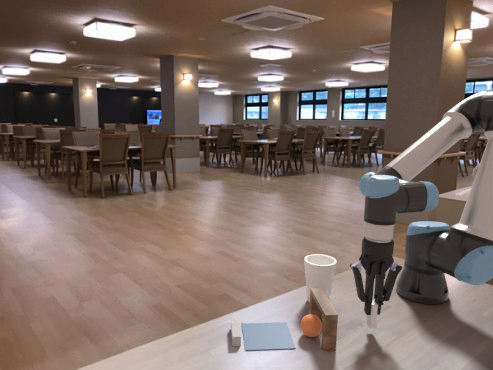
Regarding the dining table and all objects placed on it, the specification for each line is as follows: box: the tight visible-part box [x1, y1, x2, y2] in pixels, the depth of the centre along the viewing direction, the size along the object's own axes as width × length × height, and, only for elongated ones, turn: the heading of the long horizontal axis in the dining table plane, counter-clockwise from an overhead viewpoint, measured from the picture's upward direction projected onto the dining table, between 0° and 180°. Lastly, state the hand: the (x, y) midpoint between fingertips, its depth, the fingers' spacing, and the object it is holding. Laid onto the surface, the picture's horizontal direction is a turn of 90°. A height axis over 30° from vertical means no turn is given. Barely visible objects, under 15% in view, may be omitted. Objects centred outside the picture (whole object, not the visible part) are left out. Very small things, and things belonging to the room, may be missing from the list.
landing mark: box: [241, 321, 296, 352], centre depth 102 cm, size 12×12×1 cm
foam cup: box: [303, 253, 338, 304], centre depth 120 cm, size 10×9×13 cm
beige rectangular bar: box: [230, 319, 242, 347], centre depth 101 cm, size 2×8×2 cm, turn 5°
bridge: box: [308, 288, 339, 352], centre depth 103 cm, size 3×14×9 cm, turn 5°
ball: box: [300, 313, 323, 338], centre depth 102 cm, size 6×6×6 cm
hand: (371, 325), depth 104 cm, fingers closed
